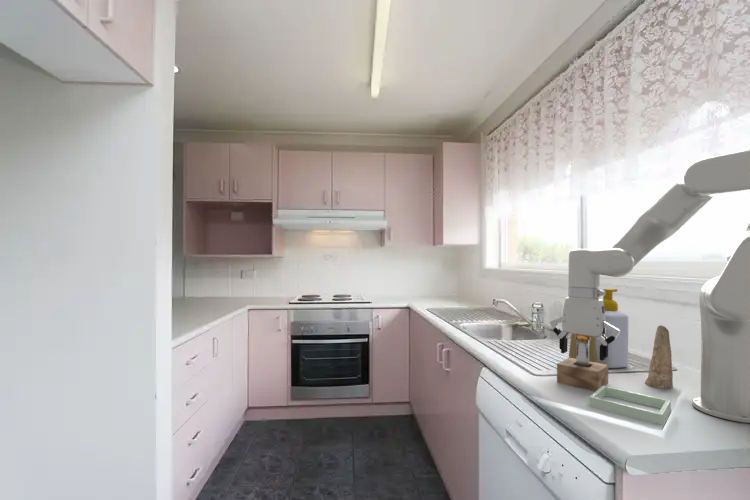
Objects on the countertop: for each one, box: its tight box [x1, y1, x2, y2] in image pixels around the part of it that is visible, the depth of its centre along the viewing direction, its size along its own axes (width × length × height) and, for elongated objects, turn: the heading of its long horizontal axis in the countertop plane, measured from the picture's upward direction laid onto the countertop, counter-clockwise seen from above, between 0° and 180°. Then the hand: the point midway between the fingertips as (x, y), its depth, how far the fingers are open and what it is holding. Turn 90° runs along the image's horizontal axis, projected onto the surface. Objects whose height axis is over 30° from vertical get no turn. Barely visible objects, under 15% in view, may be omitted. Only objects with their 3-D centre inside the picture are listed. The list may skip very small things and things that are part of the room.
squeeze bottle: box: [568, 334, 598, 363], centre depth 120 cm, size 8×8×18 cm
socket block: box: [556, 357, 609, 393], centre depth 104 cm, size 10×10×6 cm
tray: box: [588, 385, 672, 430], centre depth 87 cm, size 14×12×3 cm
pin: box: [575, 334, 591, 367], centre depth 104 cm, size 4×4×13 cm
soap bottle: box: [595, 288, 629, 369], centre depth 126 cm, size 9×9×25 cm
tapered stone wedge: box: [644, 324, 674, 389], centre depth 102 cm, size 6×18×6 cm
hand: (582, 355), depth 104 cm, fingers open, 9 cm apart
